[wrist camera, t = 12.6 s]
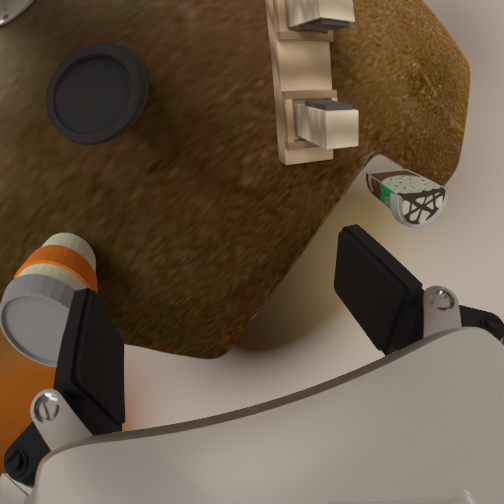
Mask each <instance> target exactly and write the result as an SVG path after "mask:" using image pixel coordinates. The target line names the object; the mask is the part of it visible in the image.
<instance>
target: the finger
mask: <svg viewBox="0 0 504 504" xmlns="http://www.w3.org/2000/svg"><path fill="white" fill-rule="evenodd" d="M293 112H294V126H295V135H297V136H299V137H301V138H304V139H306V140H308V141H310V142H312V143H314V144H316V145H318V146H321V147H323V148H325V149H335V148H344V147H353V146H358V110H354V109H352V104H348V103H343V102H338V101H333V100H310V101H305V103H300V104H293Z"/></svg>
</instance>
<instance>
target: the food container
mask: <svg viewBox="0 0 504 504" xmlns="http://www.w3.org/2000/svg"><path fill="white" fill-rule="evenodd" d="M366 181H367V185H368V188H369V190H370V191H371V193H372V194H373V195H375V196H376V197H377V198H378V199H379V200H381V201H382V202H383V203H384V204H385V205H386V206H388V207H389V208H390V209H391V211H392V214H393V216H394V217H395V219H396V220H397V221H398V222H400V223H401V224H404V225H406V226H409V227H415V228H420V227H424V226H426V225H428V224H430V223H431V222H432V221H433V220H434V219H435V218H436V217H437V216H438V215H439V214H440V212H441V211H442V209H443V208H444V206H445V204H446V202H447V199H448V196H449V193H450V190H448V188H446V187H445V186H443V185H442V186H441V185H439V184H437V183H435V182H433V181H431V180H429V179H427V178H425V177H422V176H420V175H418V174H416V173H414V172H412V171H410V170H408V169H400V170H389V171H378V172H369V173H366Z"/></svg>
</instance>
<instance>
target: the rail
mask: <svg viewBox="0 0 504 504" xmlns="http://www.w3.org/2000/svg"><path fill="white" fill-rule="evenodd" d="M265 2H266V11H267V21H268V30H269V40H270V51H271V62H272V73H273V85H274V97H275V110H276V124H277V139H278V154H279V161H281V162H282V163H283V164H285V165H291V164H298V163H306V162H313V161H321V160H329V159H333V149H325V148H323V147H321V146H318V145H316V144H314V143H312V142H310V141H308V140H306V139H304V138H301V137H299V136H297V135H295V126H294V112H293V104H300V103H305V101H310V100H333V101H337V90H332V78H331V61H330V46H329V42H334V34H333V30H335V29H340V28H345V27H349V23H351V22H355V19H354V10H353V1H352V0H265Z"/></svg>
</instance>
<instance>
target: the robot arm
mask: <svg viewBox="0 0 504 504" xmlns="http://www.w3.org/2000/svg"><path fill="white" fill-rule="evenodd" d="M33 1H34V0H0V26H2V25H4V24H6V23H8V22H10V21H12V20H13V19H15V18H16V17H17V16H19V15H20V14H21V13H22V12H23V11H25V10H26V9H27V8H28V7H29V5H30V4H31V3H32V2H33ZM422 285H423V284H421V282H420V281H419V280H418V279H416V277H415V276H413V275H412V274H411V273H410V272H409V271H408V270H407V269H406V268H405V267H404V266H403V265H402V264H401V263H400V262H399V261H398V260H397V259H396V258H395V257H393V256H392V255H391V254H390V253H389V252H388V251H387V250H386V249H385V248H384V247H383V246H381V245H380V244H379V243H378V242H377V241H376V240H375V239H374V238H372V237H371V236H370V235H369V234H368V233H367V232H366V231H365V230H363V229H362V228H361V227H360V226H359V225H351V226H347V227H344V228H343V229H342V231H341V232H340V233H339V236H338V248H337V259H336V268H335V278H334V289H335V292H336V293H337V295H338V296H339V297H340V299H341V300H342V301H343V303H344V304H345V305H346V307H347V308H348V310H349V311H350V312H351V314H352V315H353V316H354V318H355V319H356V320H357V322H358V323H359V325H360V326H361V327H362V329H363V330H364V331H365V333H366V334H367V336H368V337H369V338H370V340H371V341H372V342H373V344H374V345H375V347H376V348H377V349H378V350H382V352H383V353H384V354H385V357H383V358H381V359H379V360H377V361H374V362H372V363H370V364H368V365H366V366H363V367H361V368H359V369H356V370H354V371H352V372H349V373H347V374H345V375H342V376H339V377H337V378H334V379H332V380H329V381H326V382H324V383H321V384H318V385H316V386H313V387H310V388H307V389H305V390H302V391H299V392H296V393H293V394H290V395H287V396H284V397H281V398H278V399H275V400H271V401H268V402H265V403H262V404H258V405H254V406H251V407H247V408H243V409H240V410H236V411H232V412H228V413H224V414H220V415H216V416H211V417H207V418H202V419H198V420H193V421H188V422H182V423H177V424H171V425H166V426H159V427H153V428H147V429H141V430H133V431H126V432H119V431H122V423H124V422H125V404H124V403H125V402H124V343H123V340H122V338H121V336H120V334H119V333H118V331H117V329H116V327H115V326H114V324H113V322H112V320H111V319H110V317H109V315H108V313H107V311H106V309H105V308H104V306H103V304H102V302H101V300H100V298H99V296H98V294H97V293H96V291H92V290H91V289H90V288H85V289H81V290H77V291H75V292H74V295H73V299H72V302H71V306H70V310H69V314H68V318H67V322H66V326H65V331H64V333H63V336H62V341H61V346H60V351H59V356H58V361H57V367H56V373H55V380H54V386H53V389H46V390H43V391H41V392H40V393H39V394H37V396H36V397H35V398H34V400H33V402H32V404H31V409H30V412H31V417H32V420H33V422H32V423H31V424H30V425H29V426H28V427H27V428H26V429H25V430H24V431H23V432H22V434H21V435H20V436H19V437H18V438H17V439H16V440H15V441H14V442H13V444H12V445H11V446H10V447H9V448H8V450H7V451H6V454H5V457H4V466H5V470H6V472H7V473H6V475H5V474H3V473H2V475H1V478H0V504H504V324H503V322H502V320H501V319H500V318H498V316H496V315H494V314H493V313H490V312H486V311H482V310H478V309H474V308H470V307H466V306H461V305H459V303H458V299H457V297H456V296H455V294H454V293H453V292H452V291H450V290H449V289H447V288H445V287H442V286H431V287H429V288H427V289H426V290H425V291H424V290H423V289H422ZM393 352H394V353H393ZM391 353H392V354H391ZM389 354H390V355H389ZM387 355H388V356H387ZM112 432H117V433H112Z"/></svg>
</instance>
